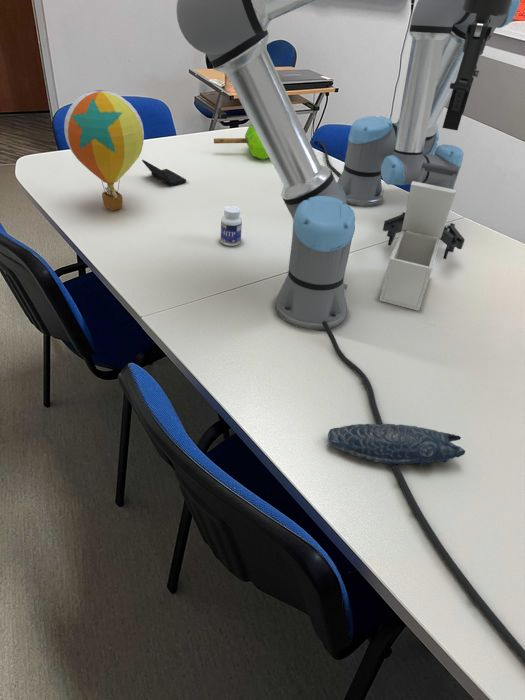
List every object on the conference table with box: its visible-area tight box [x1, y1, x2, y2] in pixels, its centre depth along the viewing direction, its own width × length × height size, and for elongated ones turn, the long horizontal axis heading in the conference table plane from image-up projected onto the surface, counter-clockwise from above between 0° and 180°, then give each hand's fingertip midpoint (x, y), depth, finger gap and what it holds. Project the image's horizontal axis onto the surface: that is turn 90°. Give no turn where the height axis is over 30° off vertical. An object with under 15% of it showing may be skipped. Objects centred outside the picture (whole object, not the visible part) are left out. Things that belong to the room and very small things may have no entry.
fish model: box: [327, 423, 466, 466], centre depth 81 cm, size 7×21×5 cm, turn 84°
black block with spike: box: [141, 159, 187, 187], centre depth 162 cm, size 12×7×10 cm
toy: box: [63, 89, 145, 212], centre depth 136 cm, size 20×20×30 cm
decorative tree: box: [213, 124, 270, 161], centre depth 186 cm, size 18×10×30 cm
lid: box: [402, 162, 460, 239], centre depth 115 cm, size 16×9×8 cm
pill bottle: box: [220, 205, 243, 247], centre depth 132 cm, size 5×5×9 cm
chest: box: [378, 231, 441, 311], centre depth 119 cm, size 16×9×11 cm, turn 159°
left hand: (453, 120), depth 100 cm, fingers open, 13 cm apart
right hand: (417, 247), depth 126 cm, fingers open, 13 cm apart
